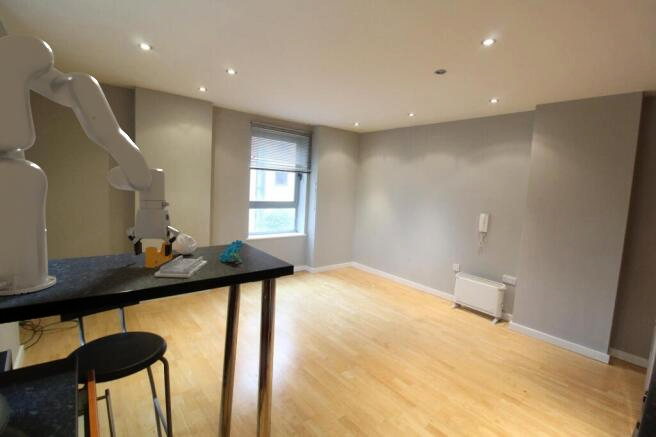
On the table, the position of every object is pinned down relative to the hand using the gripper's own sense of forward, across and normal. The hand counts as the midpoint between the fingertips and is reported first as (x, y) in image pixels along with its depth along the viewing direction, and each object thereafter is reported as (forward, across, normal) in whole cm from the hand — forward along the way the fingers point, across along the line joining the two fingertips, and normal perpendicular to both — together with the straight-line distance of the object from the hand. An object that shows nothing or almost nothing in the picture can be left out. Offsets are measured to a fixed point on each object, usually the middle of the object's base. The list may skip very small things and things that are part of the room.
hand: (153, 254), depth 104 cm
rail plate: (+2, -13, +7) cm, 15 cm away
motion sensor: (+3, -6, -12) cm, 14 cm away
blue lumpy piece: (+3, -25, -6) cm, 26 cm away
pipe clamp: (+3, -1, +1) cm, 3 cm away
